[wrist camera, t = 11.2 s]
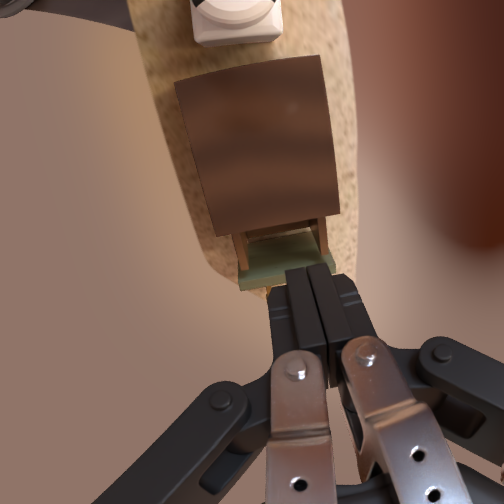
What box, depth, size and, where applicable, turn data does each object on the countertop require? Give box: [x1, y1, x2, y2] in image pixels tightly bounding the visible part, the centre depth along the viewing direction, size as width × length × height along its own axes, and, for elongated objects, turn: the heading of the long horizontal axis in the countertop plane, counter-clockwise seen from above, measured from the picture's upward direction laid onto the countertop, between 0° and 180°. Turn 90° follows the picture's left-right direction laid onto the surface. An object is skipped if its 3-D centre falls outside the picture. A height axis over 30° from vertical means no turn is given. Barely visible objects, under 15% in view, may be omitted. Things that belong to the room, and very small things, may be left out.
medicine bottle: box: [190, 0, 283, 48], centre depth 20 cm, size 7×7×12 cm
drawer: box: [231, 217, 336, 304], centre depth 34 cm, size 18×10×7 cm, turn 11°
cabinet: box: [174, 55, 340, 237], centre depth 28 cm, size 14×11×9 cm
